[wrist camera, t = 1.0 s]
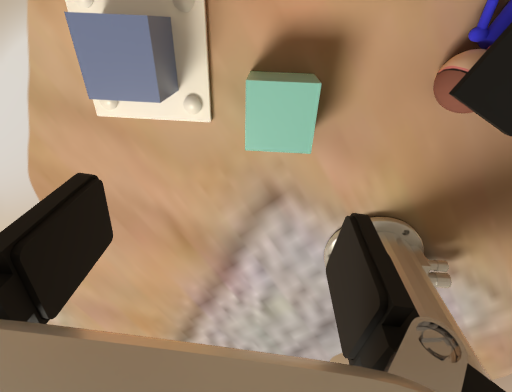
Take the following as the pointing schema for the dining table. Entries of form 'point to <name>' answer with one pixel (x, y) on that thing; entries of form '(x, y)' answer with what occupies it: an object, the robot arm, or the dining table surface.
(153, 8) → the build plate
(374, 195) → the dining table surface
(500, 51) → the figurine character
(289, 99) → the teal brick
